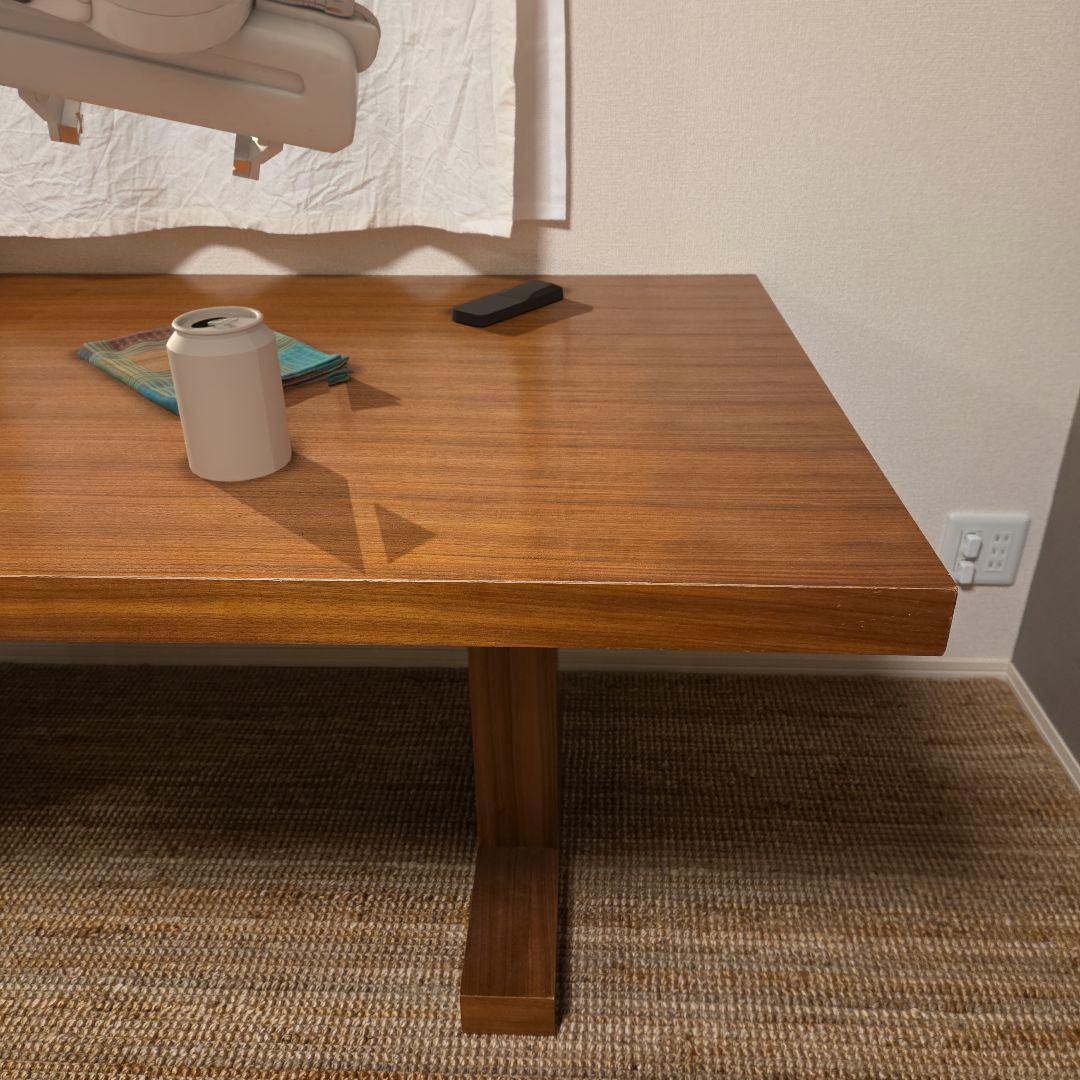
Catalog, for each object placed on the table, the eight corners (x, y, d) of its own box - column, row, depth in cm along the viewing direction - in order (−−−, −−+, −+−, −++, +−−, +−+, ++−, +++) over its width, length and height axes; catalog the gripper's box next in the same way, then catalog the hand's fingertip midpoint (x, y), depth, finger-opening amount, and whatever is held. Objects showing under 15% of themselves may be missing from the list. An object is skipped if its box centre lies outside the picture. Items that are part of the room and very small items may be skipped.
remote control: (481, 333, 108) (567, 297, 118) (480, 316, 107) (566, 282, 117) (448, 324, 111) (534, 290, 121) (447, 308, 110) (534, 275, 120)
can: (249, 443, 81) (225, 295, 75) (314, 465, 77) (294, 311, 71) (171, 476, 76) (139, 319, 70) (236, 501, 72) (208, 338, 66)
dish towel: (183, 429, 84) (178, 401, 82) (74, 362, 99) (68, 337, 98) (357, 380, 94) (354, 353, 93) (234, 326, 109) (230, 303, 108)
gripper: (390, -47, 48) (348, 144, 61) (-96, -178, 42) (-32, 64, 55) (385, 57, 46) (343, 233, 59) (-126, -64, 40) (-53, 161, 52)
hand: (159, 151), depth 57 cm, fingers open, 8 cm apart
